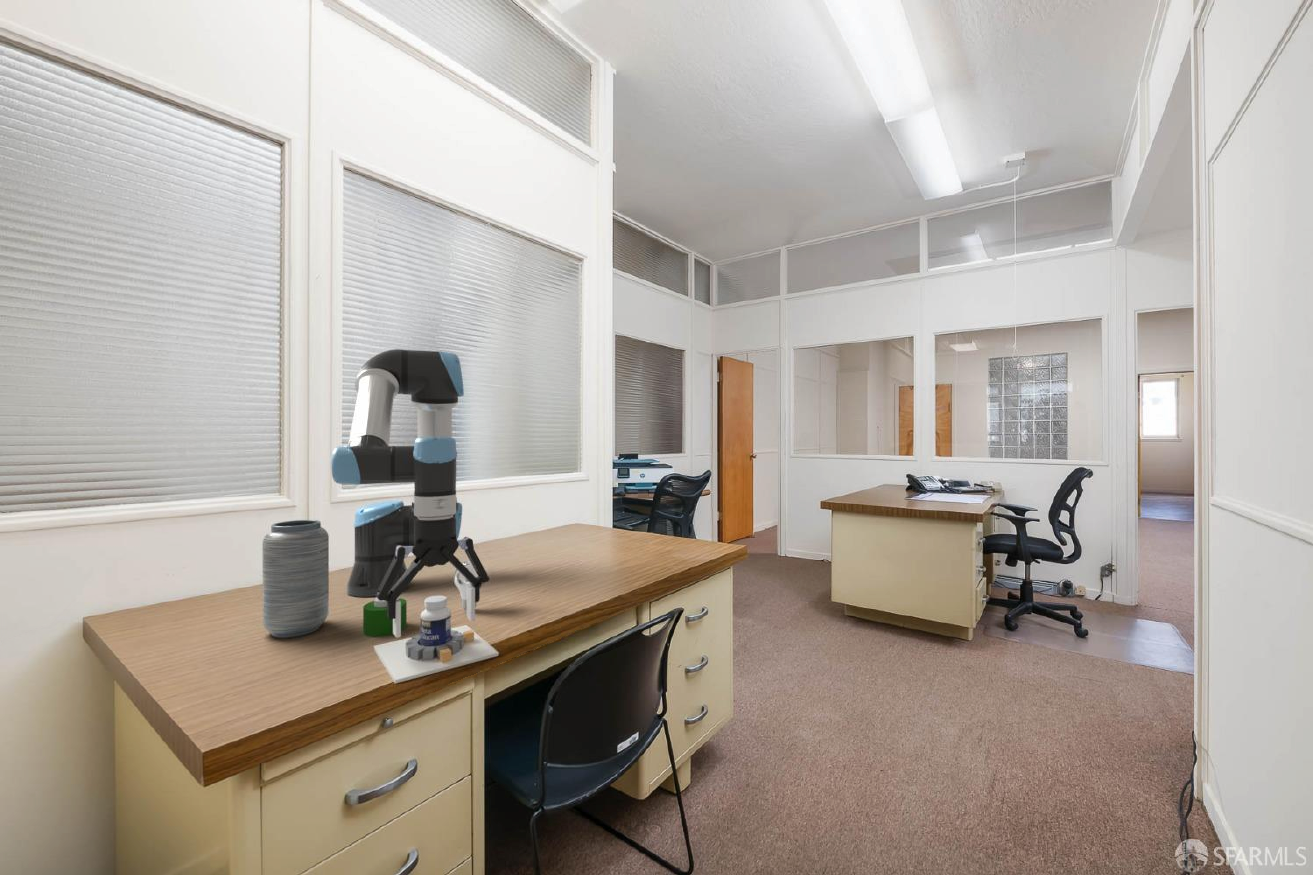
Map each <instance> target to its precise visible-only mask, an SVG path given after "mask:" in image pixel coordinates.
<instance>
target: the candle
mask: <svg viewBox="0 0 1313 875" xmlns="http://www.w3.org/2000/svg"><path fill="white" fill-rule="evenodd" d="M398 599H399V600H400V601H401V632H403V631H404V630H406V628H407V616H408V615H407V611H408V610H407V600H406V599H405V598H401V597H400V598H399V597H398ZM362 612H363V614H362V615H363V616H362V617H363V620H362V621H363V622H362V624H363V626H362V628H363V629H362V630H363V635H365V636H366V637H370V638H371V637H373V638H375V637H376V638H377V637H381V638H382V637H387V636H392V635H394V634H393V619H389V618H388V616H387V601H384V600H382V601H380V600H379V599H378V598H377V597H375V598H373V600H372V601H369V602H367V603H365V604H364V605H363V611H362Z"/></svg>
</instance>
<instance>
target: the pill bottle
mask: <svg viewBox="0 0 1313 875" xmlns="http://www.w3.org/2000/svg"><path fill="white" fill-rule="evenodd" d="M447 605H448V598H447V596H444V595H432V596H427V597H426V598H425V599H424V608H425V609H424V610H422V611H421V613H420V635H421V646H426V647H428V646H438V645H442V644H445V643H447V642H449V641H451V628H452V626H451V625H452V616H451V615H452V614H451V609H450V608H449V607H448V606H447Z"/></svg>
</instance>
